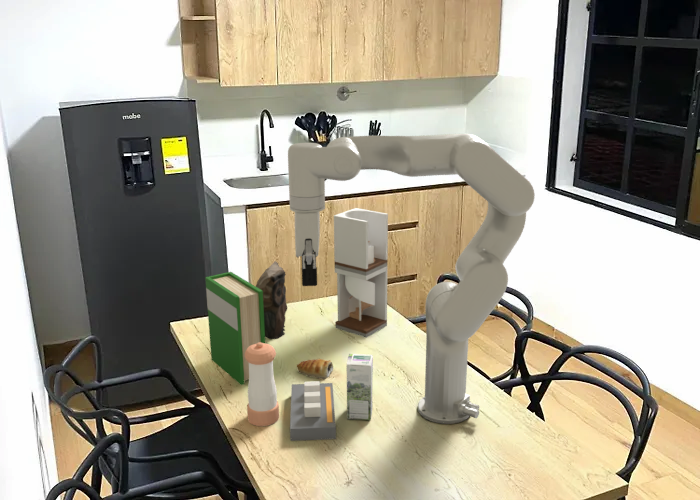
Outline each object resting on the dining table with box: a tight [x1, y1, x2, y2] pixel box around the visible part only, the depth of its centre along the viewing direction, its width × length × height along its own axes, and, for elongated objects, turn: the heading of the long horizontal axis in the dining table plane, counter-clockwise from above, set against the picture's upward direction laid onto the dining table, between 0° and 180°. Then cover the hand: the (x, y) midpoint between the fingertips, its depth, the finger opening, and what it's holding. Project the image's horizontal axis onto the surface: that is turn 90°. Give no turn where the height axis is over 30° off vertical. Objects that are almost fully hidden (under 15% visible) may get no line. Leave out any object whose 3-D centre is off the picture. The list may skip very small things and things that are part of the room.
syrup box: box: [346, 353, 374, 421], centre depth 165 cm, size 6×6×14 cm
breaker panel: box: [289, 382, 337, 442], centre depth 166 cm, size 20×10×3 cm, turn 3°
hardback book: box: [205, 271, 266, 386], centre depth 186 cm, size 18×7×24 cm, turn 35°
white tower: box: [333, 207, 389, 338], centre depth 209 cm, size 11×11×35 cm
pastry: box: [296, 358, 334, 380], centre depth 187 cm, size 9×7×4 cm
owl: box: [255, 260, 288, 340], centre depth 209 cm, size 13×13×20 cm
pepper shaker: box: [245, 342, 280, 427], centre depth 163 cm, size 7×7×19 cm
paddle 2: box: [304, 403, 321, 417], centre depth 160 cm, size 1×4×3 cm, turn 93°
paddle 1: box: [303, 380, 321, 392], centre depth 170 cm, size 1×4×3 cm, turn 94°
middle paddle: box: [304, 392, 320, 403], centre depth 165 cm, size 1×4×3 cm, turn 94°
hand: (309, 277), depth 157 cm, fingers open, 9 cm apart
